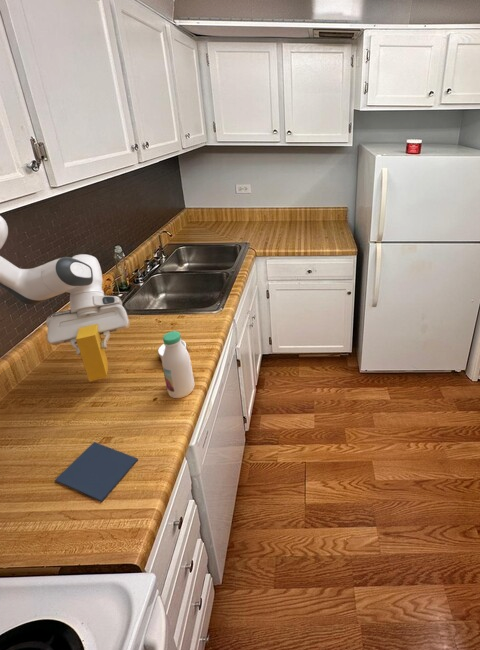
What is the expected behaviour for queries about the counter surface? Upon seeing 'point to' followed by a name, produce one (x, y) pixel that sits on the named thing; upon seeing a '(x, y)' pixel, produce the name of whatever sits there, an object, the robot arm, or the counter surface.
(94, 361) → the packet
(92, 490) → the mat
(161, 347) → the ramekin
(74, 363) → the counter surface
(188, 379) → the milk bottle
